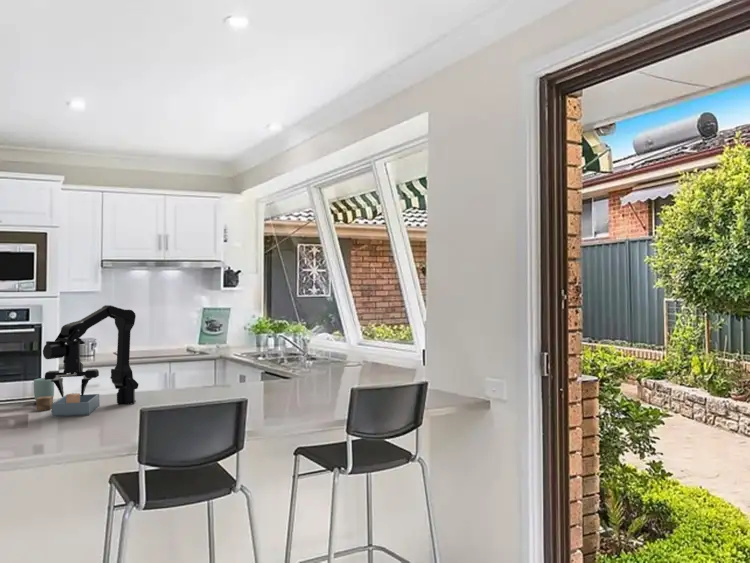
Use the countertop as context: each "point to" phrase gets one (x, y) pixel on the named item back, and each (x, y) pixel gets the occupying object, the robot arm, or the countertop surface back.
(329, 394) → the countertop surface
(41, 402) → the walnut cube
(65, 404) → the slate tote
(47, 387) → the cup
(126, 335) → the robot arm
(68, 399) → the terracotta cylinder
